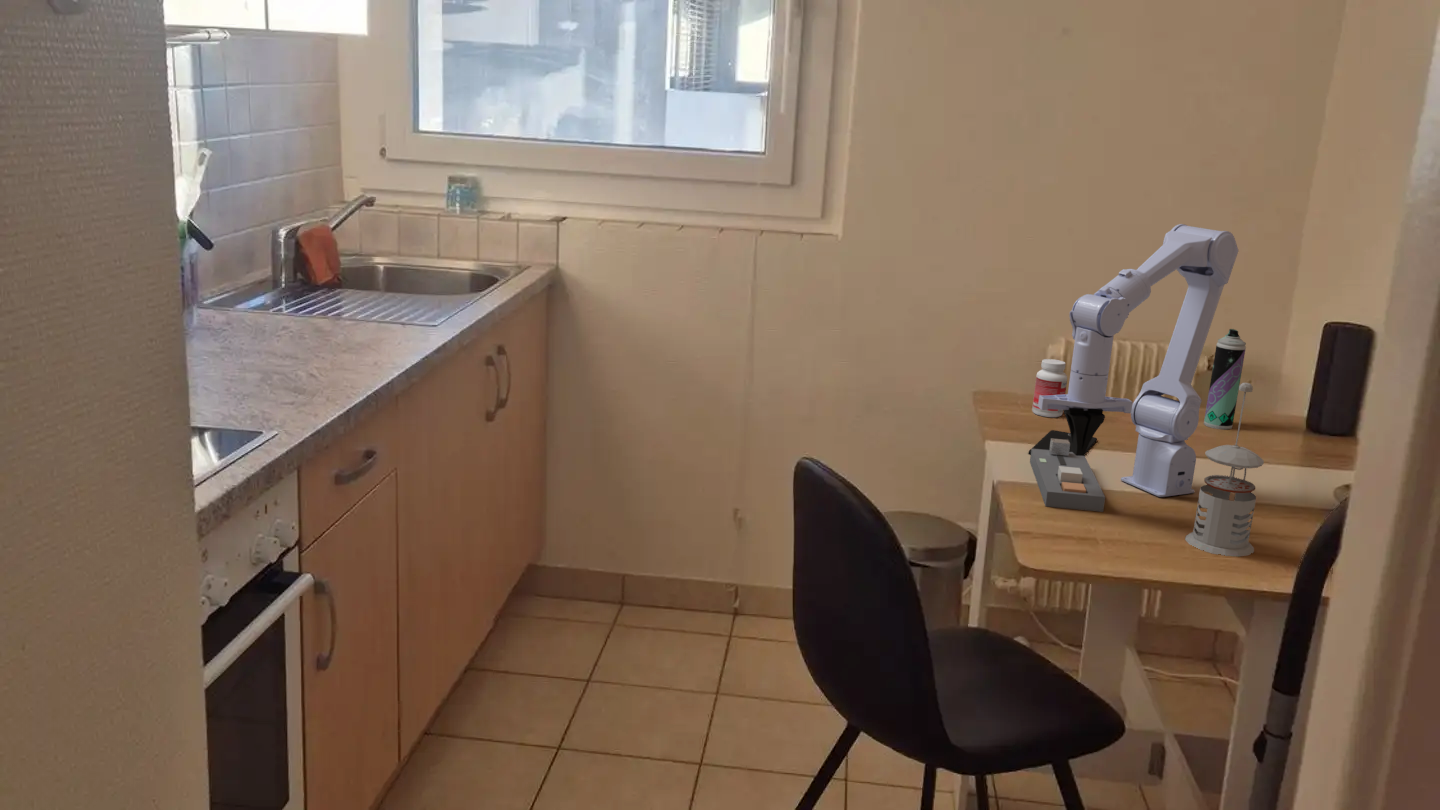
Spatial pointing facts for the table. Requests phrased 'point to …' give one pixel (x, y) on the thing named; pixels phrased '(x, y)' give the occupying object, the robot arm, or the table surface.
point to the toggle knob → (1059, 447)
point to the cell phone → (1054, 434)
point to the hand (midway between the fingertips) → (1078, 453)
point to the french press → (1227, 501)
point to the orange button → (1073, 487)
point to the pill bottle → (1049, 385)
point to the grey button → (1069, 474)
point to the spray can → (1225, 381)
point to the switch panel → (1051, 489)
